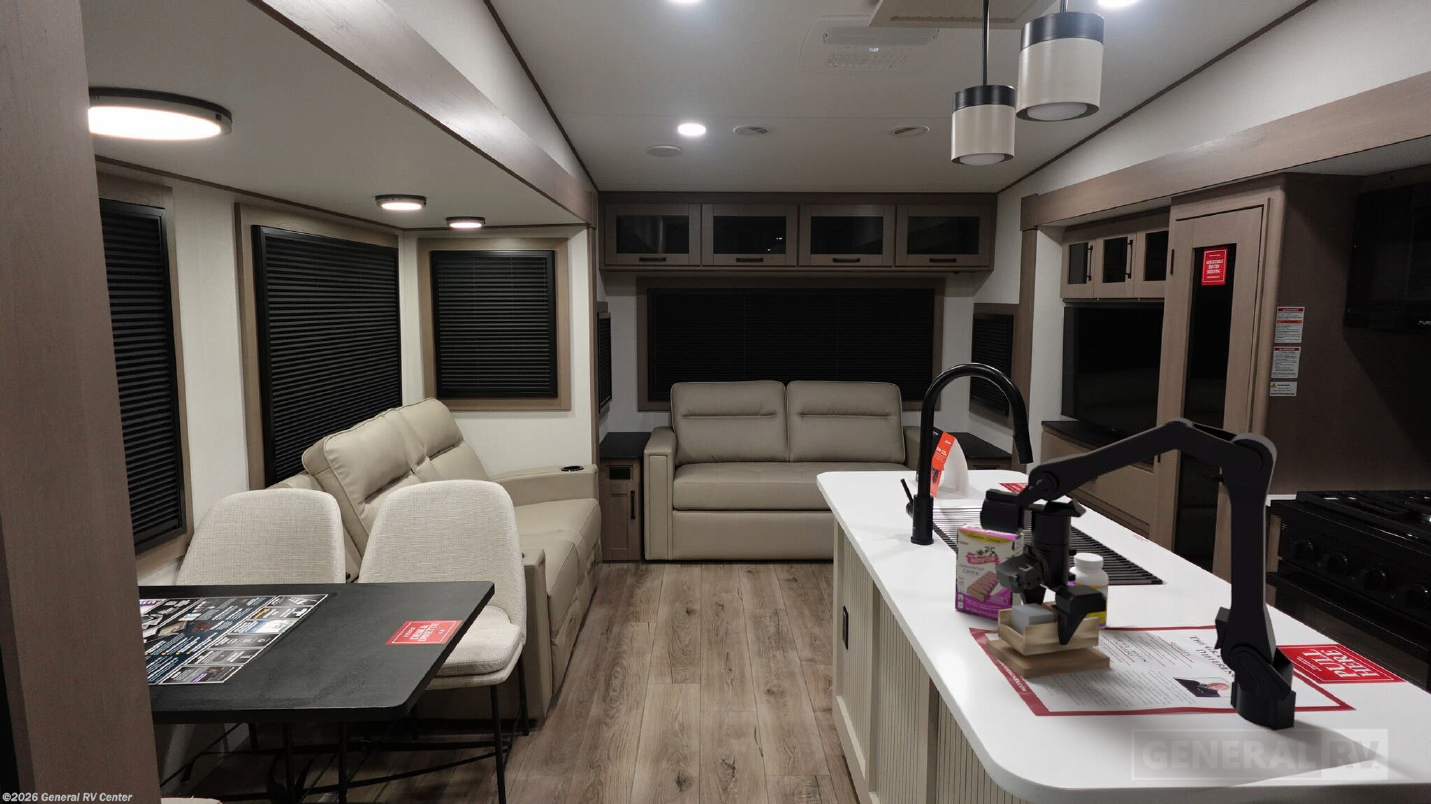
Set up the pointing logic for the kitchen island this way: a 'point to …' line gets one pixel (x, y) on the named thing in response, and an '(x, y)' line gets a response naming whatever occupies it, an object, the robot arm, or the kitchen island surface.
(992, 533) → the candy bar box
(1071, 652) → the plate
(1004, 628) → the wooden tray
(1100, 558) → the supplement bottle
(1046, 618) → the block
